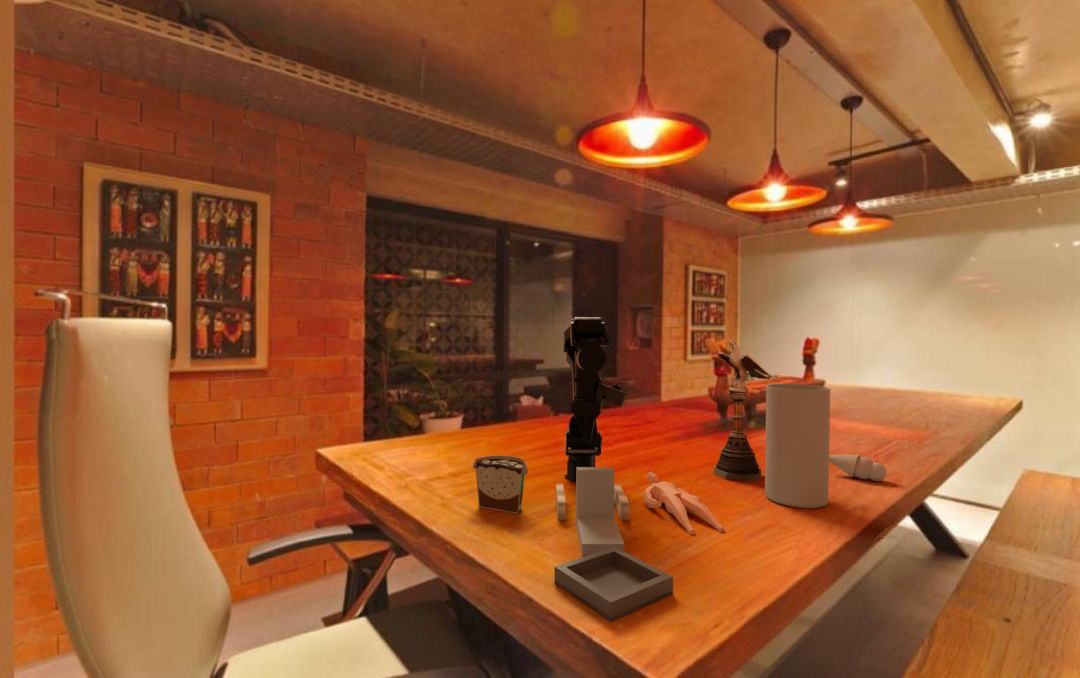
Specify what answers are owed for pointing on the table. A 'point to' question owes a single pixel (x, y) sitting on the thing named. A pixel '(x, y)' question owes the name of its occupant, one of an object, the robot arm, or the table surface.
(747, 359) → the bird statue
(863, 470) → the ice cream cone
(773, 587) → the table surface
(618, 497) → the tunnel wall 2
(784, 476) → the cylinder vase
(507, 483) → the food container
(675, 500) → the male figurine
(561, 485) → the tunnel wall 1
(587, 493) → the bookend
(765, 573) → the table surface
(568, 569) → the tray
